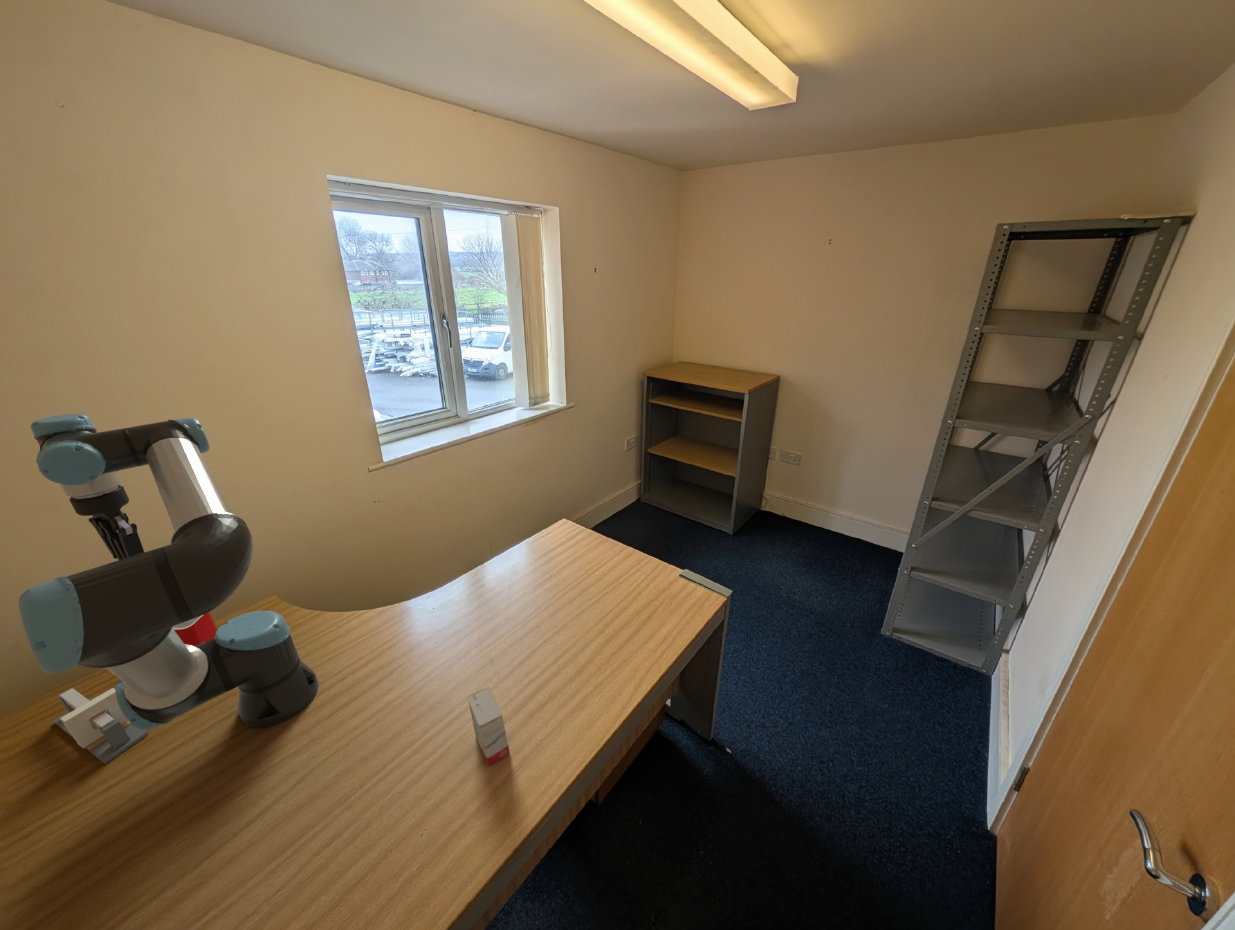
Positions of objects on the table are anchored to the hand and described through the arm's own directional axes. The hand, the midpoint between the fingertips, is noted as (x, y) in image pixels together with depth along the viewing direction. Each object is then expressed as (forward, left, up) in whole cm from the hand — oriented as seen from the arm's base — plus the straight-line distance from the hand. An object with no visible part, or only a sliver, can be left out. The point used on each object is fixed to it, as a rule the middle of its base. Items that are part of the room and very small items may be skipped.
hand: (144, 586), depth 100 cm
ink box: (-78, -17, -30) cm, 85 cm away
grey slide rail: (+4, +15, -29) cm, 33 cm away
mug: (+13, -6, -30) cm, 33 cm away
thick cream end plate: (0, +15, -27) cm, 31 cm away
